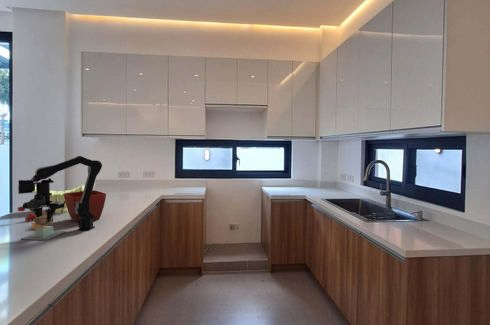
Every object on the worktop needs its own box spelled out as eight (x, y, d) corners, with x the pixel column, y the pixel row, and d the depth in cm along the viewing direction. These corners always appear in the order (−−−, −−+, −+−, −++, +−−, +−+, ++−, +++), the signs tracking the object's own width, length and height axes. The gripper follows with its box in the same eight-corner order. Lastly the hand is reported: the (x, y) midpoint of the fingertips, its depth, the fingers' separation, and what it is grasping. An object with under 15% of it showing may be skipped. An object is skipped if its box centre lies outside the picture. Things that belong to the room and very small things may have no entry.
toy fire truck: (45, 219, 189) (45, 204, 188) (19, 223, 178) (18, 207, 178) (44, 218, 191) (43, 203, 190) (17, 222, 180) (17, 206, 180)
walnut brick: (53, 221, 158) (53, 215, 157) (43, 225, 151) (42, 218, 150) (45, 221, 158) (45, 215, 158) (34, 225, 151) (34, 218, 151)
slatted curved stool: (84, 206, 226) (84, 183, 225) (82, 211, 211) (81, 186, 210) (37, 210, 214) (37, 185, 213) (32, 214, 199) (31, 188, 198)
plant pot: (107, 219, 189) (106, 193, 188) (74, 225, 175) (73, 197, 174) (95, 214, 202) (94, 190, 201) (63, 219, 188) (63, 193, 187)
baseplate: (66, 232, 161) (66, 224, 161) (47, 240, 147) (47, 232, 147) (41, 231, 162) (41, 223, 162) (20, 239, 148) (20, 231, 148)
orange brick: (49, 226, 174) (48, 220, 174) (39, 229, 167) (39, 223, 167) (42, 225, 174) (42, 219, 174) (32, 229, 167) (31, 222, 167)
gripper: (12, 194, 146) (14, 225, 147) (49, 194, 145) (50, 226, 146) (30, 190, 157) (31, 219, 158) (64, 191, 156) (65, 220, 157)
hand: (44, 221), depth 154 cm, fingers closed on walnut brick, 4 cm apart
